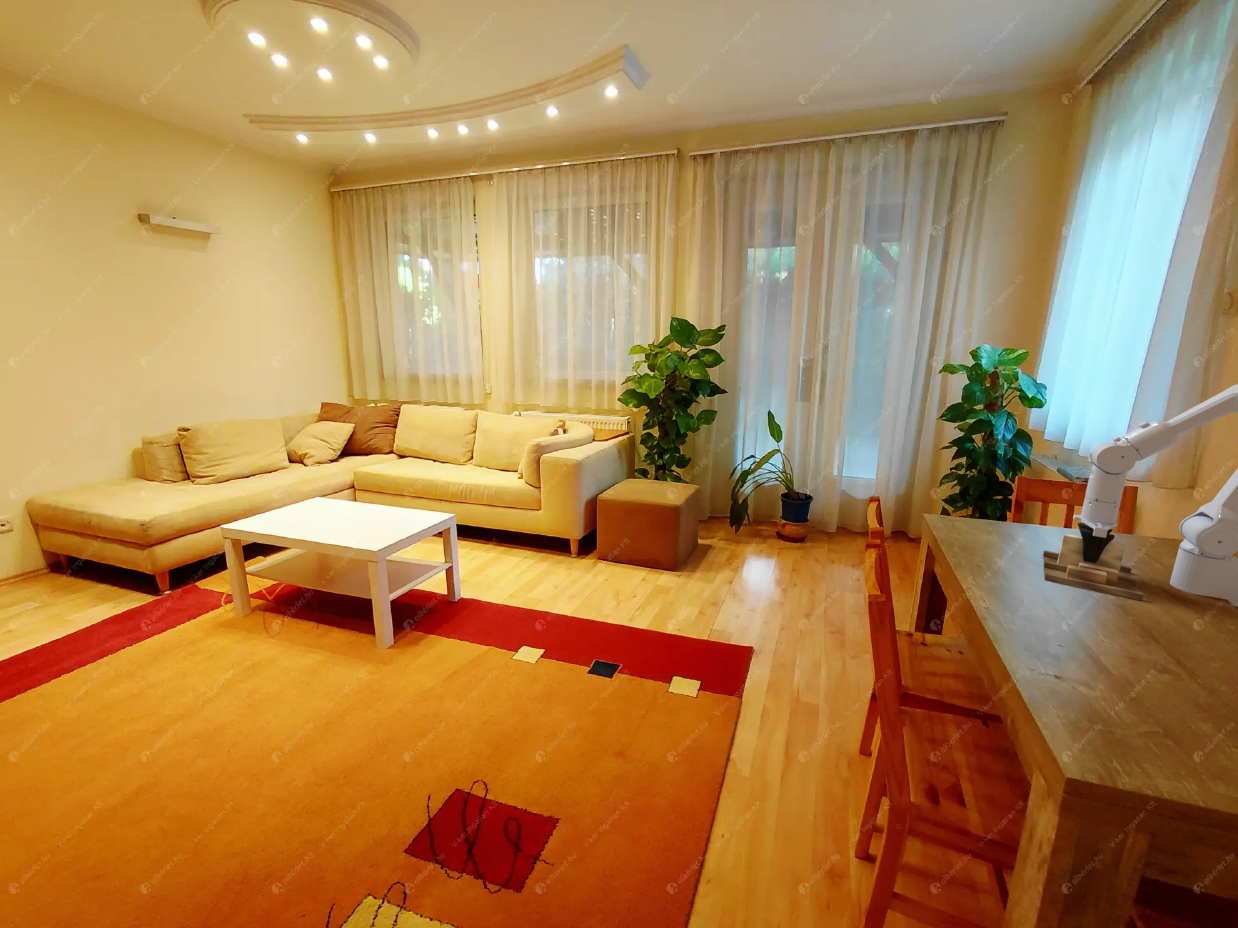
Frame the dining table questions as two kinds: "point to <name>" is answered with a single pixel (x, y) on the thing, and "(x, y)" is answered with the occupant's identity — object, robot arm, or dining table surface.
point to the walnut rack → (1122, 588)
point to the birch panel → (1074, 553)
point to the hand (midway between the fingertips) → (1088, 559)
